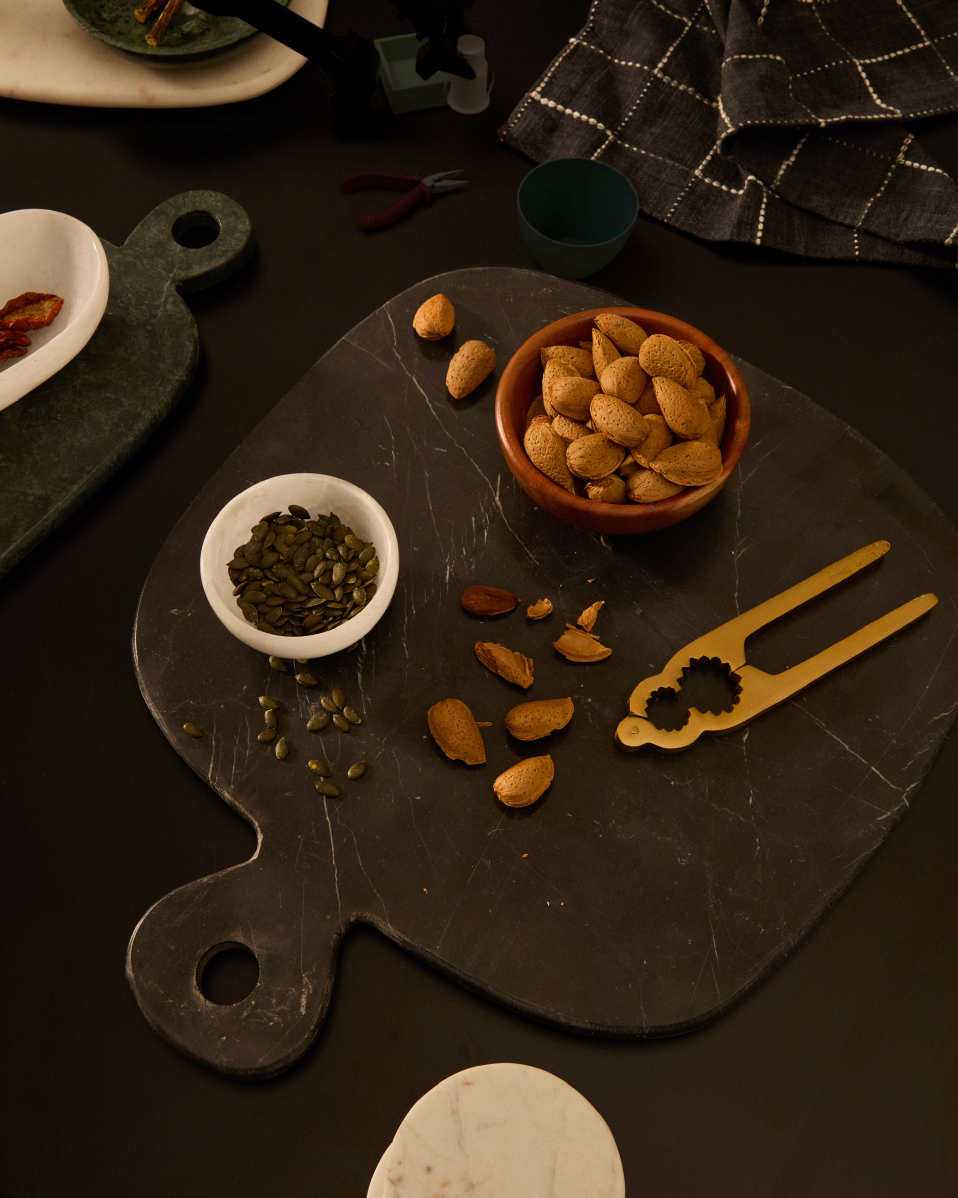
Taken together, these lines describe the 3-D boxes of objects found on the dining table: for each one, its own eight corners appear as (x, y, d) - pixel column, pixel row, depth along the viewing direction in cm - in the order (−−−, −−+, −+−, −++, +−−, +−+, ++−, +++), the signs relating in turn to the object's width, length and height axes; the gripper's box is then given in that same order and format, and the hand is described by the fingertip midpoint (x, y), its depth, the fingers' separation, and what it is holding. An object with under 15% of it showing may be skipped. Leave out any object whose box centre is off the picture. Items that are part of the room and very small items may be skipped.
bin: (375, 63, 175) (373, 39, 171) (448, 51, 177) (448, 27, 173) (393, 114, 170) (392, 90, 165) (468, 101, 172) (469, 77, 167)
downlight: (490, 86, 163) (493, 29, 154) (493, 115, 160) (497, 58, 151) (442, 86, 163) (443, 29, 154) (445, 115, 160) (446, 59, 151)
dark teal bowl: (646, 252, 157) (661, 191, 146) (585, 322, 151) (595, 264, 140) (554, 202, 162) (561, 139, 151) (490, 268, 155) (493, 207, 144)
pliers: (479, 205, 161) (479, 192, 158) (362, 235, 157) (361, 222, 155) (455, 159, 165) (455, 145, 163) (342, 186, 162) (340, 174, 160)
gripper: (436, -5, 137) (509, 75, 146) (451, -85, 144) (519, -4, 154) (383, 43, 144) (456, 115, 154) (399, -36, 152) (468, 38, 162)
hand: (476, 65), depth 156 cm, fingers closed on downlight, 6 cm apart
